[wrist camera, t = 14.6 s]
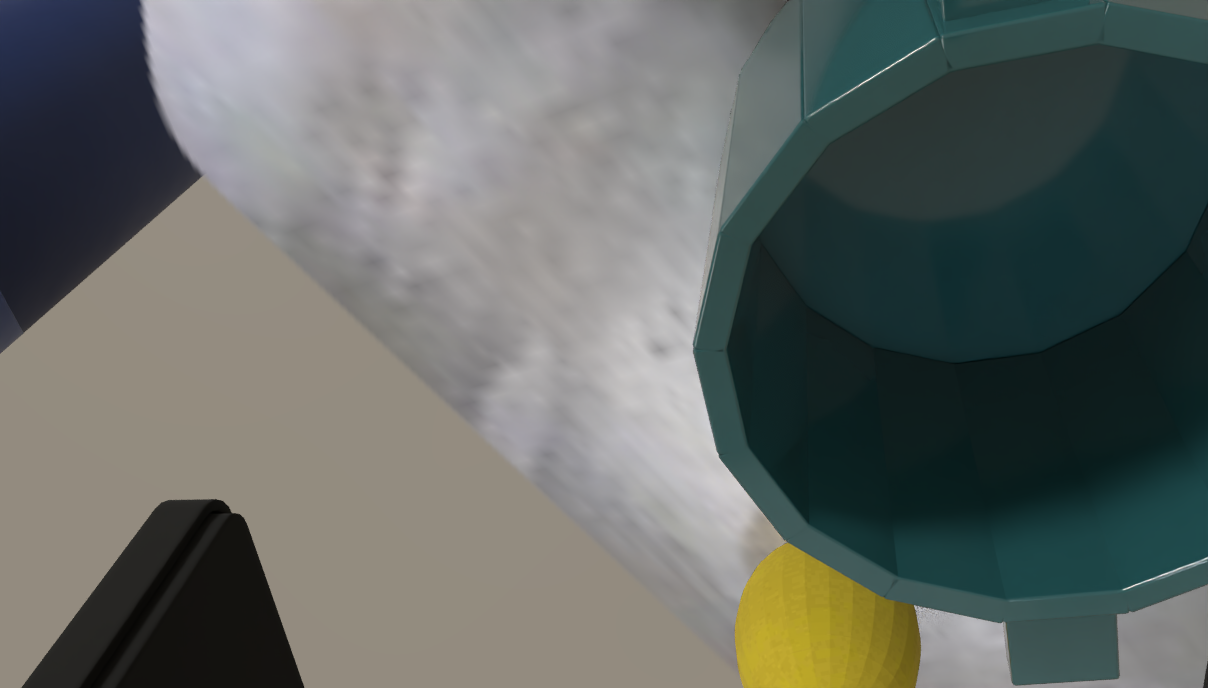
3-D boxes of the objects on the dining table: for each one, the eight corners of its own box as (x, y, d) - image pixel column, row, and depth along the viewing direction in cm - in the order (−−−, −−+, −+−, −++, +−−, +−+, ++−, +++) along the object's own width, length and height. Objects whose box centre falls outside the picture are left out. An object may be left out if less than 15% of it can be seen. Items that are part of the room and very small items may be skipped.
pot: (785, 467, 37) (781, 724, 28) (657, -147, 28) (593, -57, 20) (1241, 415, 34) (1400, 687, 25) (1256, -295, 25) (1508, -268, 16)
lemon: (853, 636, 40) (865, 834, 34) (712, 572, 40) (694, 761, 33) (942, 530, 38) (974, 723, 31) (791, 459, 37) (790, 640, 30)
